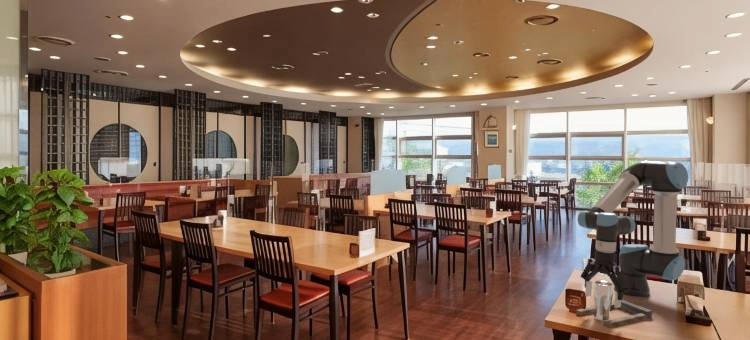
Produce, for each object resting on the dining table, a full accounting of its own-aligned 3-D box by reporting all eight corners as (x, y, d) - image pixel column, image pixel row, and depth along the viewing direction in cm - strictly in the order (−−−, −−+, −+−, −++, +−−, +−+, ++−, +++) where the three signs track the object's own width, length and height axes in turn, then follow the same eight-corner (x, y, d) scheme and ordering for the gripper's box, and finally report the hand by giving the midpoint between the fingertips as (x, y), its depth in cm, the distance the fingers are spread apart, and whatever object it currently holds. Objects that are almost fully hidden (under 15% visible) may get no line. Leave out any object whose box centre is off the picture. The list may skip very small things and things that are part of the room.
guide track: (618, 305, 195) (619, 298, 195) (651, 317, 182) (652, 310, 181) (576, 313, 184) (576, 307, 184) (608, 328, 171) (608, 320, 170)
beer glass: (613, 322, 176) (615, 286, 175) (595, 321, 177) (597, 285, 176) (608, 316, 183) (610, 281, 182) (590, 314, 184) (592, 279, 183)
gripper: (573, 244, 188) (570, 292, 189) (627, 259, 165) (624, 313, 166) (585, 243, 191) (583, 290, 192) (640, 257, 168) (637, 311, 170)
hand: (602, 301), depth 179 cm, fingers open, 13 cm apart
